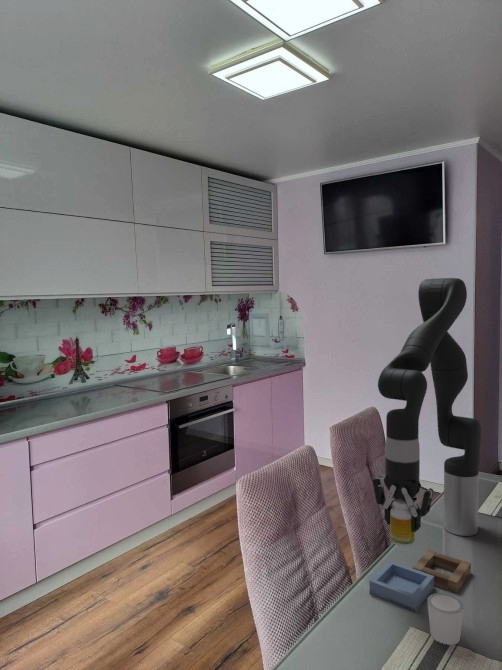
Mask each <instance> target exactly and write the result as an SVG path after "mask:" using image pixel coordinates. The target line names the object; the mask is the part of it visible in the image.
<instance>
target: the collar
mask: <svg viewBox="0 0 502 670" xmlns="http://www.w3.org/2000/svg"><path fill="white" fill-rule="evenodd" d="M471 565H472V563H471V562H468V561H465V560H461V559H459V558H456V557H452V556H449V555H445V554H443V553H440V552H437V551H434V550H430V549H427V550H426V552H425V553H424V554H423V555H422V556H421V558H420V559H418V561H417V562H416V563H415V564H414V565H413V566H412V567H411V568H413V569H415V570H418V571H421V572H424V573H427V574H430V575H433V576H434V587H435V586H436V587H439V588H442V589H444V590H447V591H449V592H452V593H455V594H457V593H458V591H460V589H461V587H463V585H464V583H465V582H466V581H467V579H468V578H469V576H470V575H471V573H472V571H471V570H472V566H471ZM433 566H435V567H439V568H441V569H444V570H447V571H450V572H453V573H452V574H451V575H449V574H446V573H443V572H441V571H437V570H435V569H432V567H433Z"/></svg>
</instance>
